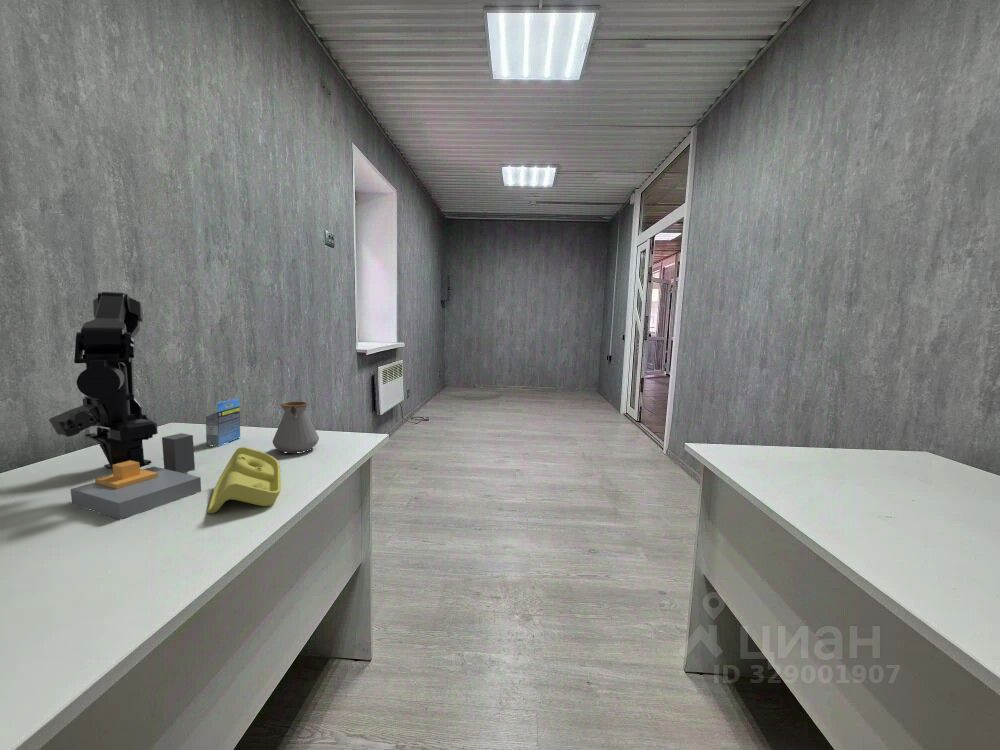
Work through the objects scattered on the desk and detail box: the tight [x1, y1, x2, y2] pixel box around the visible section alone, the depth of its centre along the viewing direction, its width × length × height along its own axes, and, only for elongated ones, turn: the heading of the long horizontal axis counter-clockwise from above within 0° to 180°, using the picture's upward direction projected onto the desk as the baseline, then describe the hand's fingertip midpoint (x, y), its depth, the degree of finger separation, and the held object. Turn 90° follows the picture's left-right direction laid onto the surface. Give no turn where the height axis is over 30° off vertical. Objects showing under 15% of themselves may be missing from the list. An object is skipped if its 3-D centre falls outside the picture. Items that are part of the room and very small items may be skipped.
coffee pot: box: [272, 401, 320, 453], centre depth 112 cm, size 21×12×15 cm, turn 24°
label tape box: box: [205, 397, 241, 447], centre depth 122 cm, size 9×4×12 cm, turn 174°
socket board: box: [70, 466, 202, 520], centre depth 84 cm, size 15×14×3 cm
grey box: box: [161, 432, 196, 474], centre depth 96 cm, size 4×4×9 cm
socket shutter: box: [94, 460, 158, 489], centre depth 85 cm, size 7×7×3 cm
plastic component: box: [206, 446, 282, 514], centre depth 88 cm, size 20×7×10 cm
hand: (115, 467), depth 86 cm, fingers closed
